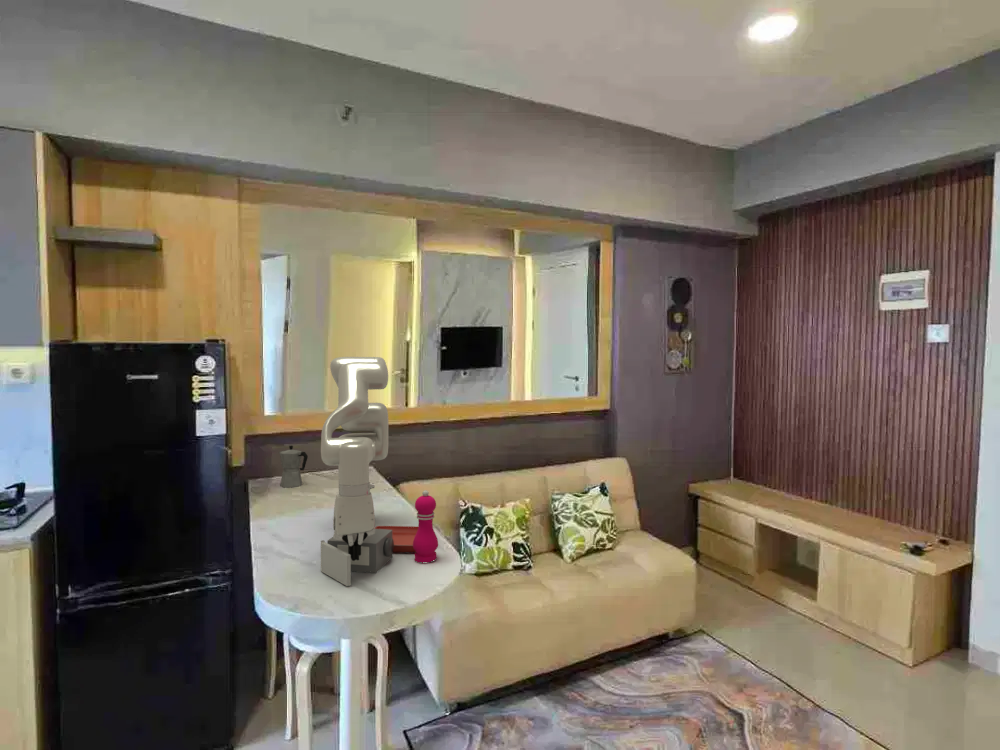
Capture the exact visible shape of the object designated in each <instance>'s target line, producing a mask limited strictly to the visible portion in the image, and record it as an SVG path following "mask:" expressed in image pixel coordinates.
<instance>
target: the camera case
mask: <svg viewBox="0 0 1000 750" xmlns="http://www.w3.org/2000/svg"><path fill="white" fill-rule="evenodd" d="M374 529H375V528H374ZM352 537H353V542H355V540H356V534H352ZM326 543H328V544H330V545H332V546H334V547H336V548H338V549H340V550H342V551H344V552H346V553H348V544H347V543H346V542H345V541H344V540H335V539H334V538H333V536H332V537H330V538H329V539H327V542H326ZM393 549H394V541H393V539H392V530H387V529H375V534H373V535H370V536H367V537H366V539H365V540H364V541H363V543H362V544H361V555H360V556H359V560H355V561H352V559H351V572H355V571H357V572H358V573H371V574H377V573H378V572H379V571H381V569H382V568H383V567H384V566H385V565H386V564H387V563H388V562H389V561H390V560H391V559H392V558H393V554H394V552H393ZM357 572H356V573H357Z"/></svg>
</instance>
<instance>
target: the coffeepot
mask: <svg viewBox="0 0 1000 750" xmlns="http://www.w3.org/2000/svg"><path fill="white" fill-rule="evenodd" d="M278 454H279V456H280V463H281V467H282V468H283V469H282V470H283V471H282V473H281V478H280V487H281V488H284V489H285V488H286V489H290V488H293V489H294V488H299V487H301V486H302V485H303V480H302V475H301V471H304V470H305V468H306V466H307V465H306V464H307V462H308V459H309V458H308V453H306V451H301V450H297V449H294V446H293V445H289V446H288V449H286V450H282V451H278ZM302 457H303V459H302ZM301 461H302V464H301ZM301 465H302V466H301Z"/></svg>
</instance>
